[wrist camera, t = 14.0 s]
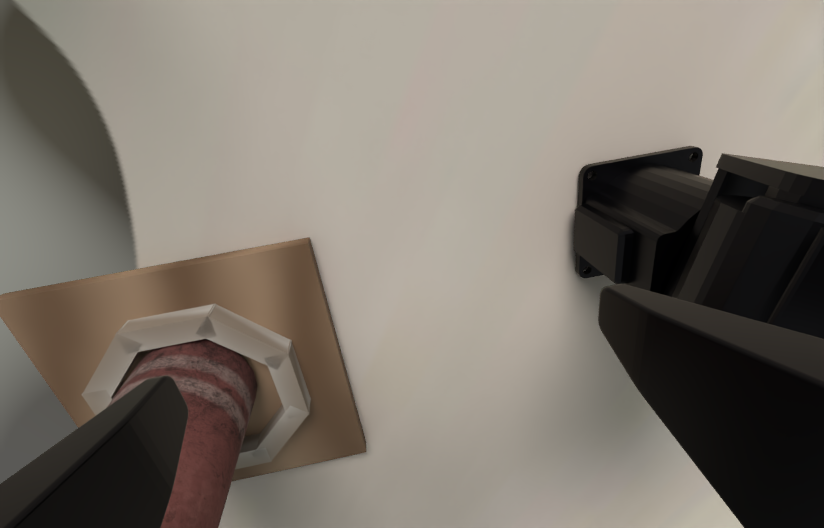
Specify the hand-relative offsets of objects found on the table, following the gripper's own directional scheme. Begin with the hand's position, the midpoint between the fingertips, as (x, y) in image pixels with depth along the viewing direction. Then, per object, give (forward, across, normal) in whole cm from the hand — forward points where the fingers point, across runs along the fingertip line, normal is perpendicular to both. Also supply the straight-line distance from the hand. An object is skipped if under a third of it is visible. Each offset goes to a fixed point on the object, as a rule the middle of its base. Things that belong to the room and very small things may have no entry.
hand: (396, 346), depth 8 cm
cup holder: (+13, +11, +10) cm, 20 cm away
